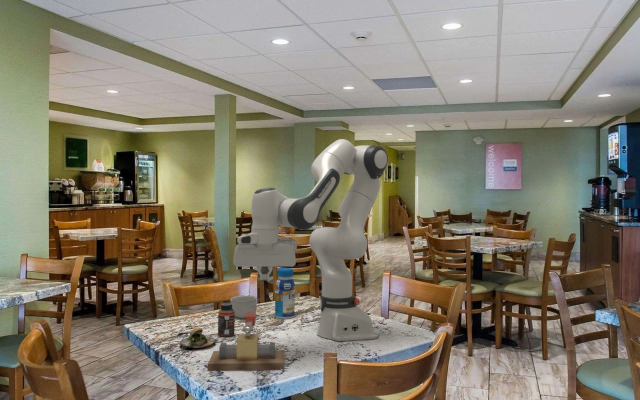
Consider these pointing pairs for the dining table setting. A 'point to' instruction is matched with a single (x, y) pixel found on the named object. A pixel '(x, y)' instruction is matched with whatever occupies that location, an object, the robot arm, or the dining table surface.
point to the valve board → (246, 363)
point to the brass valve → (247, 349)
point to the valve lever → (249, 321)
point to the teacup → (243, 305)
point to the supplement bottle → (226, 320)
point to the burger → (196, 340)
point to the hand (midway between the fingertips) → (264, 280)
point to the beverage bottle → (285, 294)
